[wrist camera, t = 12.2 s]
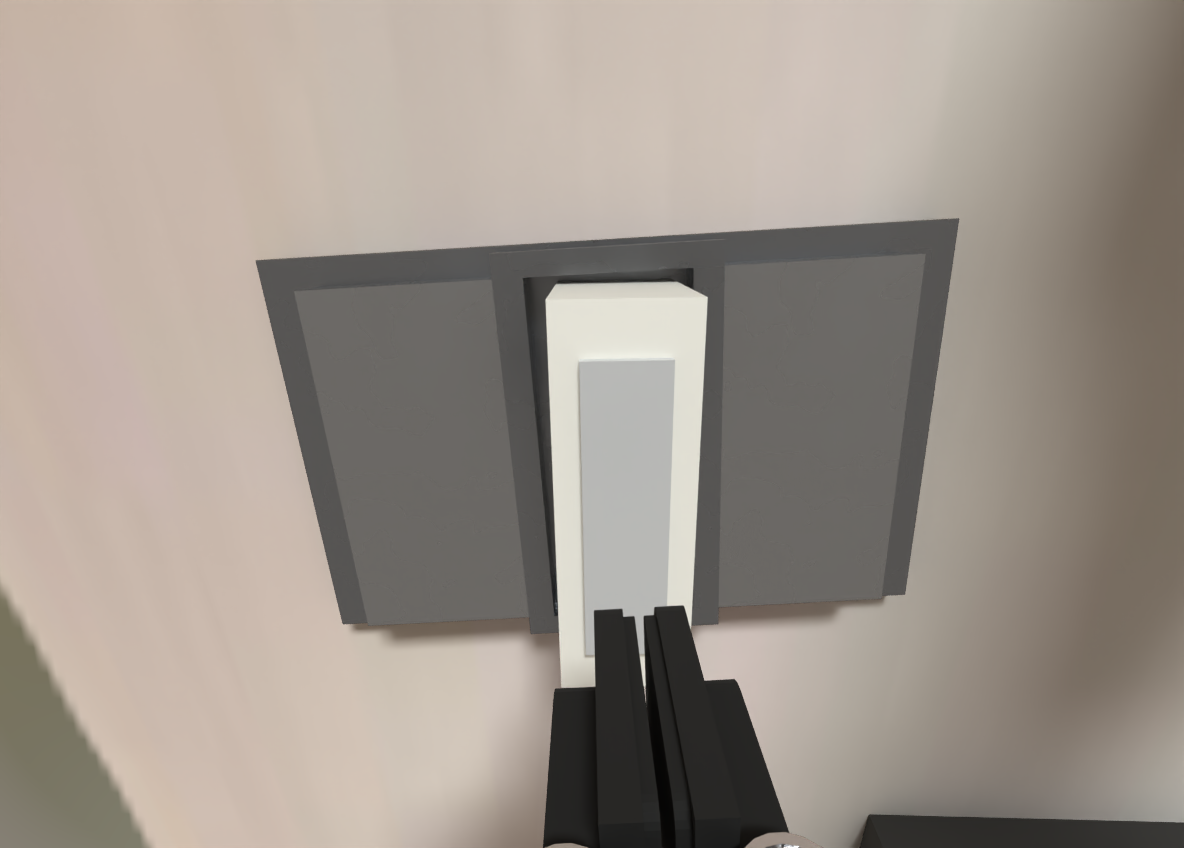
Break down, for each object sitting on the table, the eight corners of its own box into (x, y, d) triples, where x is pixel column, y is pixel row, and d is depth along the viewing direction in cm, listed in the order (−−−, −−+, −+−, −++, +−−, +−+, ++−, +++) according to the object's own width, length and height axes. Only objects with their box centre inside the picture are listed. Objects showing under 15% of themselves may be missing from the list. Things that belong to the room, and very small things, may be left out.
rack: (938, 219, 20) (995, 216, 17) (890, 578, 25) (929, 622, 22) (274, 259, 20) (222, 263, 17) (353, 606, 25) (323, 654, 22)
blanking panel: (672, 279, 19) (710, 298, 13) (663, 575, 23) (690, 692, 17) (557, 281, 19) (544, 301, 13) (567, 577, 23) (561, 695, 17)
